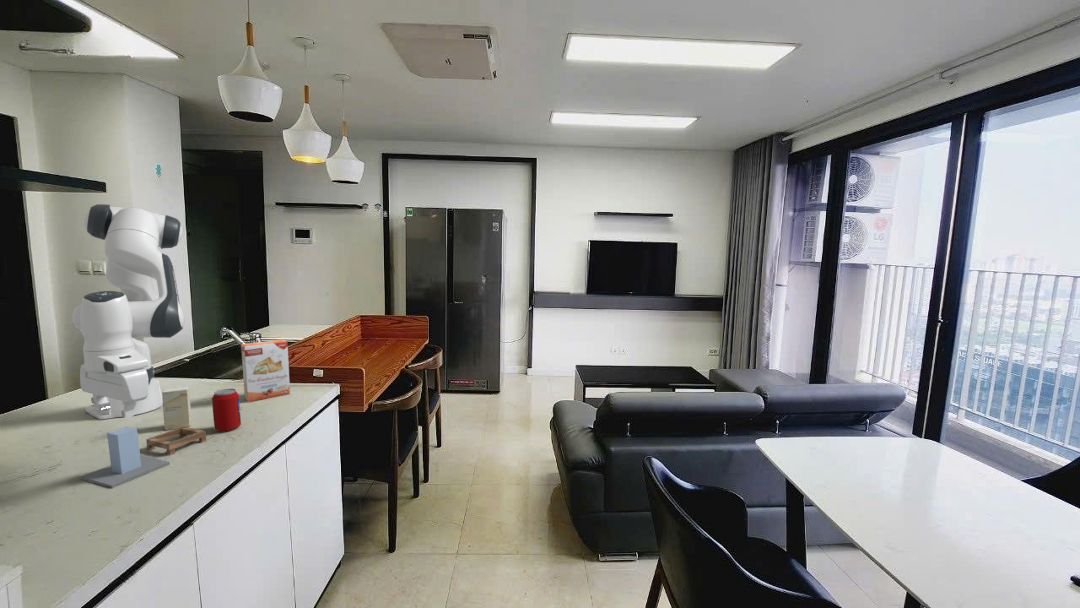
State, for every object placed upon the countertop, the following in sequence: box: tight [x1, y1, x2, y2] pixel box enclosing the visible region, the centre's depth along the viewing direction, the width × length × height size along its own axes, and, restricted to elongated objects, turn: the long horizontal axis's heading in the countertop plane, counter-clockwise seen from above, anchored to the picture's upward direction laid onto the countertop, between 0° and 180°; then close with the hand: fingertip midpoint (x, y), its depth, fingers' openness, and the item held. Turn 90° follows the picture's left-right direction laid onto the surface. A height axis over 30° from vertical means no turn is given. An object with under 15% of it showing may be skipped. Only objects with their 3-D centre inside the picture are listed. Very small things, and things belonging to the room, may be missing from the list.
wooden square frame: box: [145, 426, 207, 456], centre depth 123 cm, size 9×9×3 cm
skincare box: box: [161, 385, 192, 431], centre depth 136 cm, size 6×4×12 cm
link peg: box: [106, 426, 141, 474], centre depth 108 cm, size 4×4×10 cm
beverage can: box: [211, 388, 242, 433], centre depth 134 cm, size 7×7×12 cm
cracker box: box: [240, 339, 291, 403], centre depth 163 cm, size 14×6×21 cm, turn 134°
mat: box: [80, 454, 170, 489], centre depth 109 cm, size 12×12×1 cm
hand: (116, 413), depth 107 cm, fingers open, 8 cm apart
